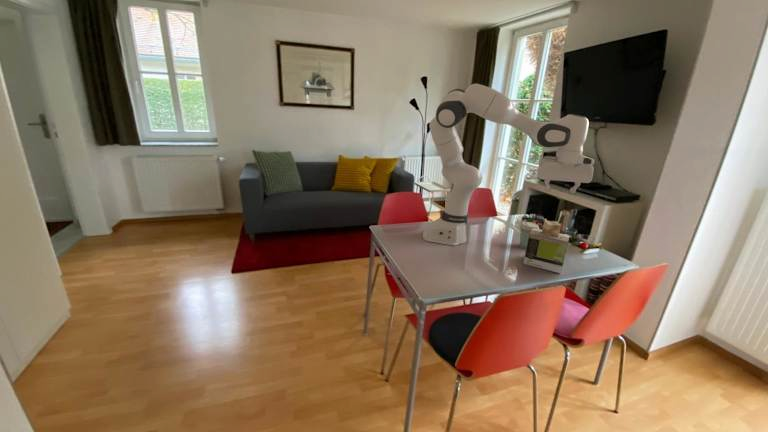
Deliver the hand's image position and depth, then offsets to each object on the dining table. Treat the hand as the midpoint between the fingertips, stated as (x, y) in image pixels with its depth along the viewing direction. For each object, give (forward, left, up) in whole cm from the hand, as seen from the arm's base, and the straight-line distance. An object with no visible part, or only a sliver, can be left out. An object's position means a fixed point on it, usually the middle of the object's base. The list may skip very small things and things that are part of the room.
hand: (560, 191), depth 130 cm
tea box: (0, 0, -34) cm, 34 cm away
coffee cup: (-2, +19, -34) cm, 38 cm away
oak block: (0, -1, -19) cm, 19 cm away
